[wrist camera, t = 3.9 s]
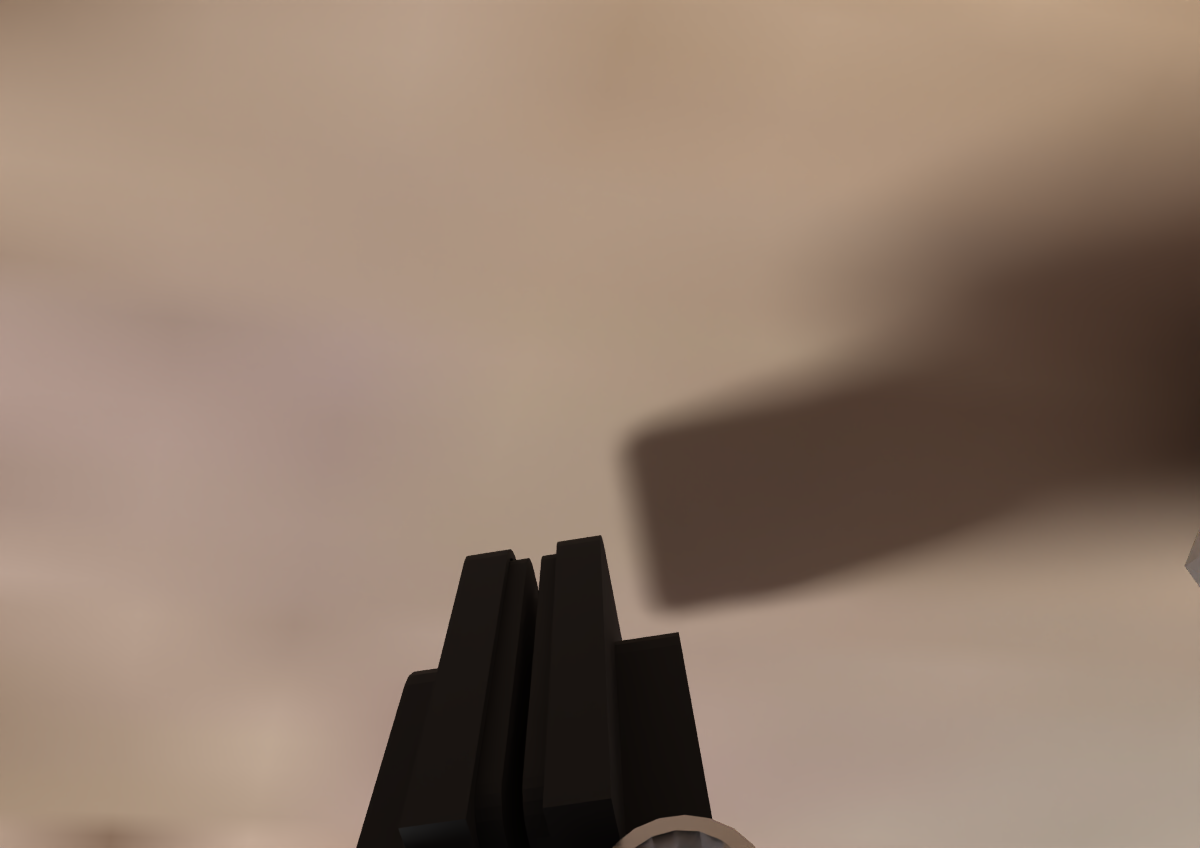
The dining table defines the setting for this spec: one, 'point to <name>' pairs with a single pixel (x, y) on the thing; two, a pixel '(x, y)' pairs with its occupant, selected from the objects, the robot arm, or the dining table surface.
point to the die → (1194, 560)
